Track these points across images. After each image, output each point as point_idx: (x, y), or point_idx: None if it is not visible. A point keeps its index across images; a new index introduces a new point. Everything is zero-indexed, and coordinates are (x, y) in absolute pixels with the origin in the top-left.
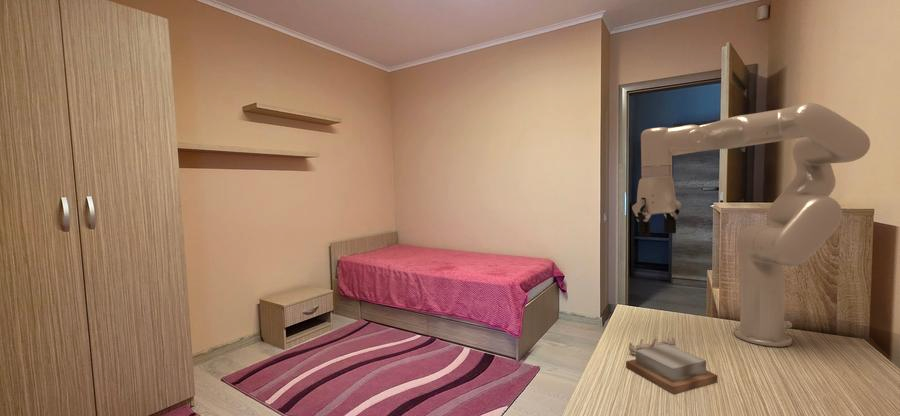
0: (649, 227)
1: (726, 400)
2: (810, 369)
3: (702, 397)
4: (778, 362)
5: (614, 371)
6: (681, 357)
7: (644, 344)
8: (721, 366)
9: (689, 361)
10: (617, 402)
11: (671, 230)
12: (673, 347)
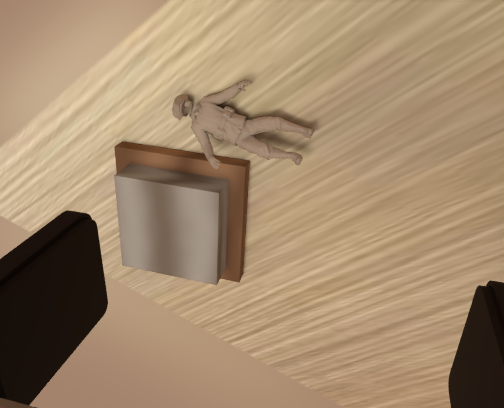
0: (45, 371)
1: (195, 304)
2: None
3: (167, 280)
4: (464, 311)
5: (87, 140)
6: (181, 251)
7: (207, 126)
8: (322, 250)
9: (180, 268)
10: (27, 215)
11: (457, 383)
12: (213, 214)
